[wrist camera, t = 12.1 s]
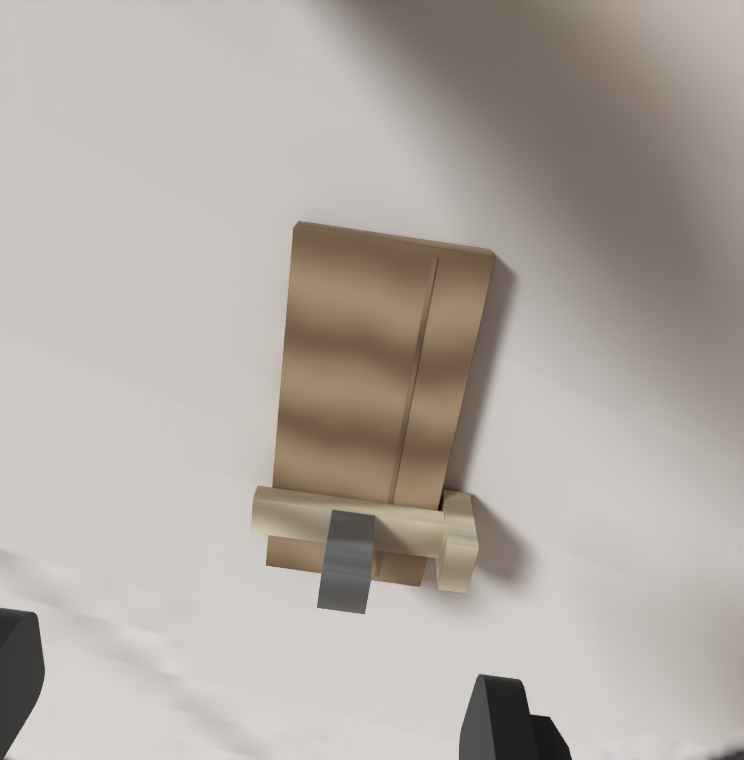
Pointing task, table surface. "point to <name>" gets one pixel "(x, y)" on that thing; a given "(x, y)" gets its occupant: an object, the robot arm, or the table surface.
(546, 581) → the table surface
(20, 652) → the robot arm
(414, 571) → the board
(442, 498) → the cream flanged bar
